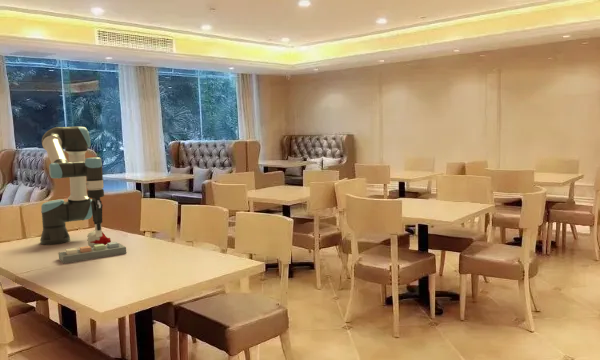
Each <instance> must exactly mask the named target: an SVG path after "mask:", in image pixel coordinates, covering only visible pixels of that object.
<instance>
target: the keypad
mask: <svg viewBox="0 0 600 360" xmlns="http://www.w3.org/2000/svg"><path fill="white" fill-rule="evenodd" d="M118 243H119V242H118ZM91 249H92V251H89V252H83V253H81V252H80V249H77V253H76V254H70V255H66V252H65V251H62V252H58V260H59V261H60V262H61V263H63V264H70V263H76V262H82V261H88V260H93V259H95V260H96V259H101V258H106V257H113V256H117V255H118V256H119V255H124V254H127V246H125V245H123V244H121V243H119V247H115V248H108V247H107V244H106V245H105V249H102V250H96V251H95V250H94V247H93V248H92V247H91Z"/></svg>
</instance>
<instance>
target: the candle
mask: <svg viewBox="0 0 600 360" xmlns="http://www.w3.org/2000/svg"><path fill="white" fill-rule="evenodd" d="M111 242H112V240H111V238H110V237H107V236H106V234H104V231H102V237H96V236H95V229H94V230H93V231H90V232H88V234H87V246H90V247H91V248H93V247H94V245H98V244H104V245H105V246H106V245H107V243H111Z"/></svg>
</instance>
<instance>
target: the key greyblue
mask: <svg viewBox="0 0 600 360" xmlns="http://www.w3.org/2000/svg"><path fill="white" fill-rule="evenodd" d="M106 245H107V247H108V248H115V247H119V242H117V241H114V242H113V241H111V242H110V243H107V244H106Z"/></svg>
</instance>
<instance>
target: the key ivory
mask: <svg viewBox="0 0 600 360" xmlns="http://www.w3.org/2000/svg"><path fill="white" fill-rule="evenodd" d="M77 250H78V249H77V248H76V247H73V248H72V247H71V248H66V249H65V250H64V252H66V255H70V254H76V253H77Z"/></svg>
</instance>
